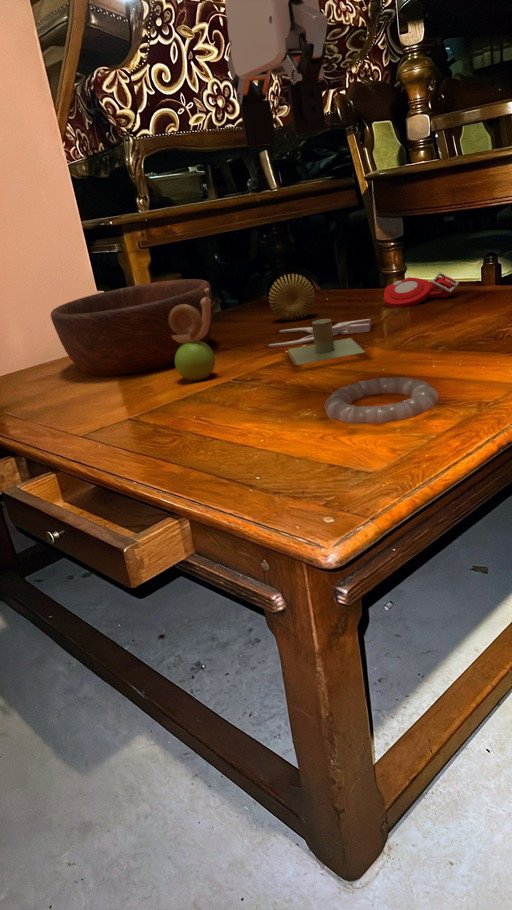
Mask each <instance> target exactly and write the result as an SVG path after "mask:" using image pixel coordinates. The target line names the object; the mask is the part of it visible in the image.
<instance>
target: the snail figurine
mask: <svg viewBox="0 0 512 910" xmlns="http://www.w3.org/2000/svg"><path fill="white" fill-rule="evenodd" d="M204 292H205V293H208V292H209V288H206V289H205V290H204ZM201 306H202V318H201V315H200V313H199V312H198V310H197V309H195V308H194V307H193V306H191V305H187V304H180V305H177V306H175V307H174V308H173V309H172V310H171V312H170V314H169V325H170V327H171V329H172V330H173V331H174V332H175V333H177V334H178V335H172V338H173V339H174V340H175V341H177V342H179V343H182V344H183V345H182V346H180V348H179V349H178V350H177V352H176V355H175V364H174V366H175V369H176V371H177V373H178V374H179V375H180V376H181V377H182V378H183V379H185V380H187V381H189V382H199V381H203V380H205V379H207V378H208V377H209V376H211V374H212V373H213V371H214V369H215V365H216V357H215V354H214V353H215V352H214V351H213V349H212V348H211V346H210V345H208V343H207V344H205V343H203V342H201V341H199V340H200V339H202V338H203V337H204V336H205V335H206V334H207V332H208V330H209V326H210V316H211V311H210V307H211V300H210V299H209V293H208V295H207V297H204V298H202V300H201Z"/></svg>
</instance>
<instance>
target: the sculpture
mask: <svg viewBox="0 0 512 910" xmlns="http://www.w3.org/2000/svg"><path fill="white" fill-rule="evenodd" d="M279 278H280V279H279ZM279 278H277V279H276V281H274V282H273V284H272V285H271V287H270V290H269V292H268V295H269V296H268V299H269V300H268V302H269V303H270V304H269V306H270V309H271V310H272V311H273V313H274V314H275V315H276V316H277V317H278V318H279V319H282V320H284V321H287V322H289V321H291V322H292V321H293V320H294V321H297V320H299V321H300V320H301V319H304V318H305V317H307V316H308V315H307V314H310V313H311V312H310V311H313V308H314V306H315V303H316V292H315V289H314V286H313V284H312V283H311V281H309V279H307V278H306V277H305V276H302V274H298V273H288V274H284V275H283V276H280V277H279Z"/></svg>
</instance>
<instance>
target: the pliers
mask: <svg viewBox="0 0 512 910" xmlns="http://www.w3.org/2000/svg"><path fill="white" fill-rule="evenodd" d="M371 328H372V319H371V318H367V319H365V318H364V319H357V320H350V321H349V320H348V321H344V322H338V323H336V324H334V325H332V330H333V337H334V336H337V335H348V334H349V335H350V334H360V333H368V332H369V333H370V331H371ZM294 332H305V333H308V334H310V335H306V336H304V337H302V338H300V339H297V340H291V341H284V342H278V343H270V344H268V345H267V346H268V348H276V347H286V346H294V345H301V344H305V343H311V342H314V336H313V328H312V326H309V327H296V328H287V329H281V330H279V334H283V333H294Z"/></svg>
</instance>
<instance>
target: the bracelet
mask: <svg viewBox="0 0 512 910" xmlns="http://www.w3.org/2000/svg"><path fill="white" fill-rule="evenodd" d="M378 394H401V395H404V396H409V397H410V398H407V399H405V400H402V401H400V402H395V403H394V402H393V403H389V404H384V405H383V404H382V405H373V406H372V405H365V406H364V405H359V406H358V405H354V404H352V403H353V402H354V401H356V400H359V399H362V398H364V397H367V396H373V395H378ZM439 400H440V394H439V392H438V390H437V389H436V388H434V387H433V386H432V385H430V384H429V383H428V382H426V381H425V380H421V379H415V378H410V377H403V376H399V377H377V378H372V379H367V380H361V381H357V382H353V383H351V384H348V385H345V386H343V387H341V388H337V389H336V390H335V391H334V392H333V393H332V394H331V395H330V396H329V397H328V398H327V399H326V400H325V402H324V405H323V410H324V412H325V414H326V415H327V417H328V419H330V420H334V421H338V422H341V423H345V424H349V425H352V424H353V425H381V424H387V423H392V422H398V421H404V420H408V419H413V418H416V417H418V416H420V415H422V414H424V413H427V412H429V411H431V410H433V409H434V408H435V407H436V405H437V403H438V402H439Z"/></svg>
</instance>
